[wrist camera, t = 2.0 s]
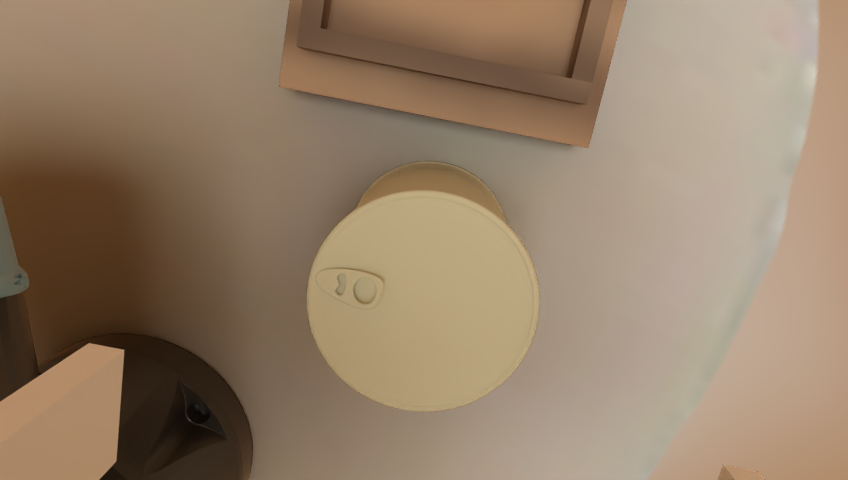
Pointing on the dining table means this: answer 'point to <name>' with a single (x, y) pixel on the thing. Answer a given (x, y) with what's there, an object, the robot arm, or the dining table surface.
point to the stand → (460, 59)
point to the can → (423, 291)
